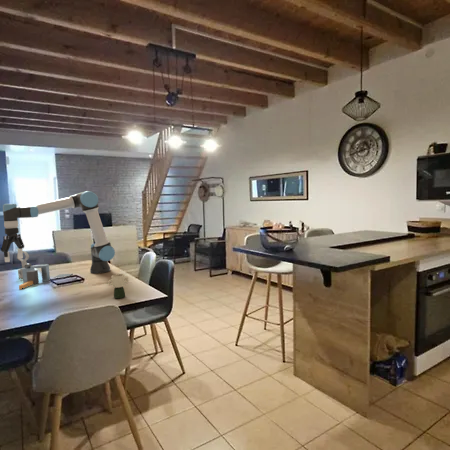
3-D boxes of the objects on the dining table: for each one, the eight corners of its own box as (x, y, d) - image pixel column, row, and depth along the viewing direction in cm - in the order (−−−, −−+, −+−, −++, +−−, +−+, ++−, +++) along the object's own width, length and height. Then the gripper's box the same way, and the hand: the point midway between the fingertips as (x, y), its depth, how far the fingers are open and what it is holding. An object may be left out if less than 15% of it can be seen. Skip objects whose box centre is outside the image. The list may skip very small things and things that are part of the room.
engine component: (27, 278, 246) (36, 275, 256) (25, 251, 245) (34, 249, 255) (14, 278, 248) (23, 275, 257) (11, 252, 246) (21, 250, 256)
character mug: (127, 294, 189) (126, 272, 188) (130, 297, 183) (129, 274, 182) (108, 298, 183) (106, 275, 182) (111, 301, 177) (109, 277, 176)
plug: (25, 288, 214) (23, 275, 213) (17, 289, 214) (16, 276, 213) (38, 282, 231) (37, 270, 230) (31, 282, 231) (30, 270, 230)
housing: (50, 279, 238) (48, 262, 237) (47, 281, 234) (45, 263, 233) (26, 281, 237) (24, 263, 236) (23, 282, 233) (21, 264, 232)
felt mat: (72, 274, 254) (72, 273, 254) (64, 278, 239) (64, 278, 239) (59, 274, 253) (59, 274, 253) (50, 279, 239) (50, 279, 238)
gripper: (17, 226, 221) (20, 257, 223) (-8, 229, 196) (-5, 263, 198) (28, 226, 221) (31, 256, 223) (4, 228, 196) (7, 263, 198)
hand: (14, 260), depth 210 cm, fingers open, 13 cm apart
